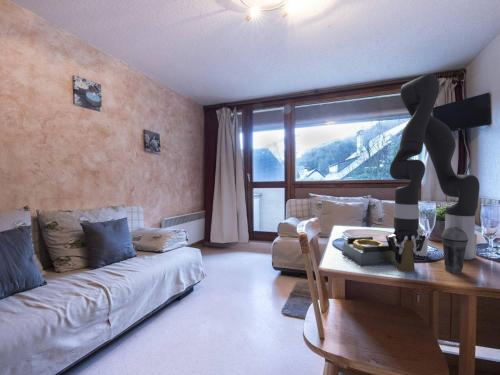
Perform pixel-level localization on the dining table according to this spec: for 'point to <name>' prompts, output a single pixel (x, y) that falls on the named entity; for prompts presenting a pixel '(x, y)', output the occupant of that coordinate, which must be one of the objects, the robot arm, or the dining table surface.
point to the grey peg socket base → (368, 252)
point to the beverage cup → (454, 248)
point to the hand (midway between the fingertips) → (405, 262)
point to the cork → (406, 258)
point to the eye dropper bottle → (425, 245)
